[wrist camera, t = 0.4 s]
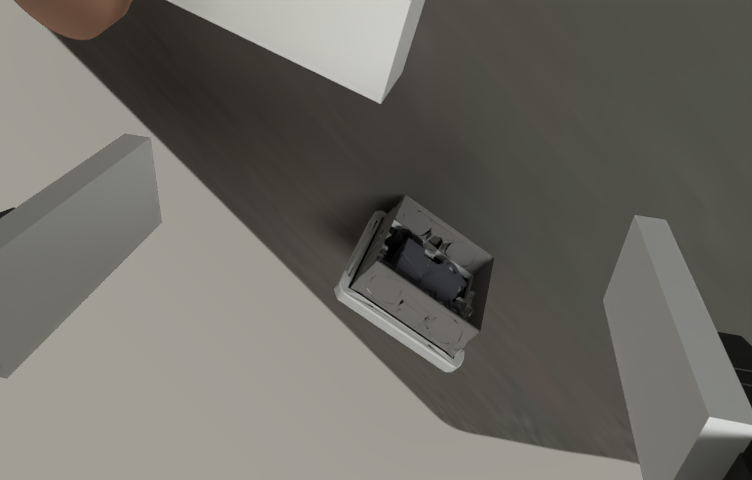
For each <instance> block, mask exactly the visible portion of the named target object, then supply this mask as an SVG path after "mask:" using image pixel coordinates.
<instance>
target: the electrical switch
mask: <svg viewBox="0 0 752 480" xmlns="http://www.w3.org/2000/svg"><path fill="white" fill-rule="evenodd" d="M419 211H421V212H419ZM404 214H405V215H404ZM403 216H404V217H403ZM395 218H397V219H396V220H395ZM429 219H430V220H431V221H430V220H429ZM402 224H403V225H402ZM430 228H431V231H430V232H429V233H428V234H426V235H424V236H422V235H423V234H424V233H426V232H427V231H428V230H430ZM433 236H437V237H441V238H442V241H443V242H442V244H441V245H440V247H439V249H437V248H435V247H434V246H433V245H432V244H431V243H430V242H429V240H430V239H431V238H432V237H433ZM449 243H452V244H450V245H449V247H448V248H447V250H446V251H444V250H445V248H446V246H447V245H448V244H449ZM445 253H446V255H447V256H446V255H445ZM492 258H493V257H492V256H491V255H490V254H488V253H487V252H485V251H484V250H483V249H481V248H480V247H478V246H477V245H476V244H474V243H473V242H471V241H470V240H469V239H467V238H466V237H464V236H463V235H462V234H460V233H459V232H457V231H456V230H455V229H453V228H452V227H450V226H449V225H448V224H446V223H445V222H443V221H442V220H441V219H439V218H438V217H436V216H435V215H434V214H432V213H431V212H429V211H428V210H427V209H425V208H424V207H422V206H421V205H420V204H418V203H417V202H415V201H414V200H413V199H411V198H410V197H408V196H407V195H406V196H404V197H403V199H402V200H401V201H400V202H399V203H398V205H397V206H395V207H393V208H392V209H391V211H390V212H389V213H388V214H387V213H385V212H384V211H375V213H374V214H373V216H372V217H371V219H370V220H369V222H368V224H367V226H366V228H365V230H364V232H363V234H362V236H361V238H360V240H359V242H358V244H357V245H356V247H355V249H354V251H353V253H352V255H351V257H350V259H349V261H348V263H347V265H346V267H345V269H344V271H343V273H342V275H341V277H340V279H339V280H338V282H337V284H336V286H335V288H334V291H335V294H336V296H337V299H338V300H339V301H341V302H342V303H344V304H345V305H347V306H348V307H350V308H351V309H353V310H354V311H356V312H357V313H359V314H360V315H362V316H363V317H364V318H366V319H367V320H369V321H370V322H372V323H373V324H375V325H376V326H378V327H379V328H381V329H382V330H384V331H385V332H387V333H388V334H390V335H391V336H393V337H394V338H396V339H397V340H399V341H400V342H401V343H403V344H404V345H406V346H407V347H409V348H410V349H412V350H413V351H415V352H416V353H418V354H419V355H421V356H422V357H424V358H425V359H427V360H428V361H430V362H431V363H433V364H434V365H436V366H437V367H438V368H440V369H441V370H443V371H444V372H452V371H454V370H455V369H457V368H458V367H460V366H461V364H462V362H463V359H464V352H465V351H463V348H464V346H465V345H466V343H467V342H468V341H469V340H470V339H471V338H473V337H474V336H475V335H476V334H478V333H479V332H480V330H481V325H482V320H483V314H484V309H485V304H486V298H487V293H488V288H489V282H490V277H491V272H492V266H493V261H494V258H493V259H492ZM491 259H492V260H491ZM490 260H491V261H490ZM489 261H490V262H489ZM484 265H485V266H484ZM483 266H484V267H483ZM466 269H467V270H468V271H469V272H468V271H467V270H466ZM473 310H474V311H473ZM472 311H473V312H472Z"/></svg>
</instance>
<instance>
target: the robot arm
mask: <svg viewBox="0 0 752 480" xmlns="http://www.w3.org/2000/svg"><path fill="white" fill-rule="evenodd" d="M161 222H162V220H161V213H160V206H159V198H158V191H157V183H156V176H155V168H154V161H153V154H152V146H151V139H150V138H148V137H142V136H135V135H129V134H124V135H122V136H121V137H119V138H118V139H116V140H115V141H114V142H112V143H111V144H109V145H108V146H106V147H105V148H103V149H102V150H100V151H99V152H97V153H96V154H94V155H93V156H91V157H90V158H89V159H87V160H86V161H84V162H83V163H81V164H80V165H78V166H77V167H76V168H74V169H72V170H71V171H70V172H68V173H67V174H65V175H64V176H62V177H61V178H59V179H58V180H56V181H55V182H53V183H52V184H50V185H49V186H47V187H46V188H44V189H43V190H42V191H40V192H39V193H37V194H36V195H34V196H33V197H31V198H30V199H28V200H27V201H25V202H24V203H22V204H21V205H20V206H18V207H17V208H11V209H8V210H6V211H3V212H0V377H2V378H8V377H9V376H10V375H11V374H12V373H13V372H14V371H15V370H16V369H17V368H18V367H19V366H20V365H21V364H22V363H23V362H24V361H25V360H26V359H27V358H28V357H29V355H31V354H32V353H33V352H34V351H35V350H36V349H37V348H38V347H39V346H40V345H41V344H42V343H43V342H44V341H45V340H46V339H47V338H48V337H49V336H50V335H51V333H53V332H54V331H55V329H57V328H58V327H59V325H60V324H61V323H62V322H63V321H64V320H65V319H66V318H67V317H68V316H69V315H70V314H71V313H72V312H73V311H74V310H75V309H76V308H77V307H78V306H79V305H80V304H81V303H82V302H83V301H84V300H85V299H86V298H87V297H88V296H89V295H90V294H91V293H92V292H93V291H94V290H95V289H96V288H97V287H98V286H99V285H100V284H101V283H102V282H103V281H104V280H105V279H106V278H107V277H108V276H109V275H110V274H111V273H112V272H113V271H114V270H115V269H116V268H117V267H118V266H119V265H120V264H121V263H122V262H123V261H124V260H125V259H126V258H127V257H128V256H129V255H130V254H131V253H132V252H133V251H134V250H135V249H136V248H137V247H138V246H139V245H140V244H141V243H142V242H143V241H144V240H145V239H146V238H147V237H148V236H149V235H150V234H151V233H152V232H153V230H155V228H156V227H158V226H159V224H160V223H161ZM603 302H604V306H605V311H606V315H607V320H608V324H609V329H610V333H611V338H612V342H613V347H614V351H615V356H616V360H617V364H618V369H619V373H620V378H621V382H622V387H623V391H624V396H625V400H626V405H627V409H628V414H629V418H630V423H631V427H632V432H633V436H634V441H635V445H636V450H637V454H638V459H639V463H640V467H641V472H642V476H643V480H752V346H751V345H750V344H749V343H748V342H747V341H746V340H745V339H744V338H743V337H742V336H738V335H732V334H727V333H721V332H717V331H716V329H715V326H714V324H713V322H712V320H711V318H710V315H709V313H708V311H707V309H706V307H705V304H704V302H703V300H702V298H701V296H700V294H699V291H698V289H697V287H696V285H695V283H694V280H693V278H692V276H691V274H690V272H689V269H688V267H687V265H686V263H685V261H684V258H683V256H682V254H681V252H680V250H679V247H678V245H677V243H676V241H675V239H674V237H673V234H672V232H671V230H670V228H669V226H668V223H667V221H666V220H663V219H657V218H650V217H644V216H638V215H635V216H634V218H633V221H632V224H631V226H630V229H629V232H628V234H627V237H626V240H625V242H624V245H623V248H622V251H621V253H620V256H619V259H618V261H617V264H616V267H615V269H614V272H613V275H612V278H611V280H610V283H609V286H608V288H607V291H606V294H605V296H604V299H603Z"/></svg>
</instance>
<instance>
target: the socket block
mask: <svg viewBox="0 0 752 480" xmlns="http://www.w3.org/2000/svg"><path fill="white" fill-rule="evenodd" d="M167 1H169V2H171V3H173V4H175V5H177V6H179V7H181V8H183V9H185V10H187V11H190V12H192V13H194V14H196V15H198V16H200V17H202V18H204V19H206V20H208V21H210V22H212V23H214V24H216V25H218V26H221V27H223V28H225V29H227V30H229V31H231V32H233V33H235V34H237V35H239V36H241V37H243V38H245V39H247V40H249V41H252V42H254V43H256V44H258V45H260V46H262V47H264V48H266V49H268V50H270V51H272V52H274V53H276V54H278V55H280V56H283V57H285V58H287V59H289V60H291V61H293V62H295V63H297V64H299V65H301V66H303V67H305V68H307V69H309V70H311V71H314V72H316V73H318V74H320V75H322V76H324V77H326V78H328V79H330V80H332V81H334V82H336V83H338V84H340V85H343V86H345V87H347V88H349V89H351V90H353V91H355V92H357V93H359V94H361V95H363V96H365V97H367V98H369V99H371V100H374V101H376V102H378V103H380V104H381V103H382V101H383V100H384V98H385V97H386V95H387V94H388V93H389V91H390V90H391V88H392V87H393V85H394V84H395V82H396V81H397V79H398V78H399V77H400V75H401V74H402V71H403V68H404V65H405V62H406V59H407V56H408V52H409V49H410V46H411V43H412V40H413V37H414V34H415V30H416V27H417V24H418V21H419V18H420V15H421V11H422V8H423V5H424V2H425V0H167Z"/></svg>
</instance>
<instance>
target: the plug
mask: <svg viewBox="0 0 752 480" xmlns="http://www.w3.org/2000/svg"><path fill="white" fill-rule="evenodd" d="M14 1H15V2H16V3H17V4H18V5H19V6H20V7H21V8H22V9H24V10H25V11H26V12H27V13H28V14H29V15H30V16H32V17H33V18H34V19H36V20H37V21H38V22H40V23H41V24H42V25H44V26H46V27H47V28H49V29H50V30H52V31H54V32H56V33H58V34H60V35H63V36H65V37H68V38H71V39H77V40H88V39H92V38H94V37H96V36H98V35H99V34H100V33H102V32H103V31H104V30H106V29H107V28H108V27H110V26H111V25H112V24H114V23H115V22H116V21H118V20H119V19H120V18H122V17H123V16H124V15H125V14H126V12H127V11H128V9H129V7H130V4H131V2H132V1H133V0H14Z"/></svg>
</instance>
